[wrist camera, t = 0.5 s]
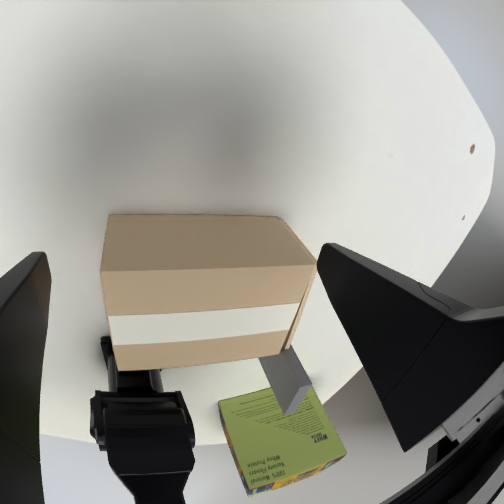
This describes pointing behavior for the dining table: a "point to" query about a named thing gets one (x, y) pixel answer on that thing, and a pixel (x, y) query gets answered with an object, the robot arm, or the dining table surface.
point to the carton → (199, 288)
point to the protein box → (278, 440)
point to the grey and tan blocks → (289, 357)
